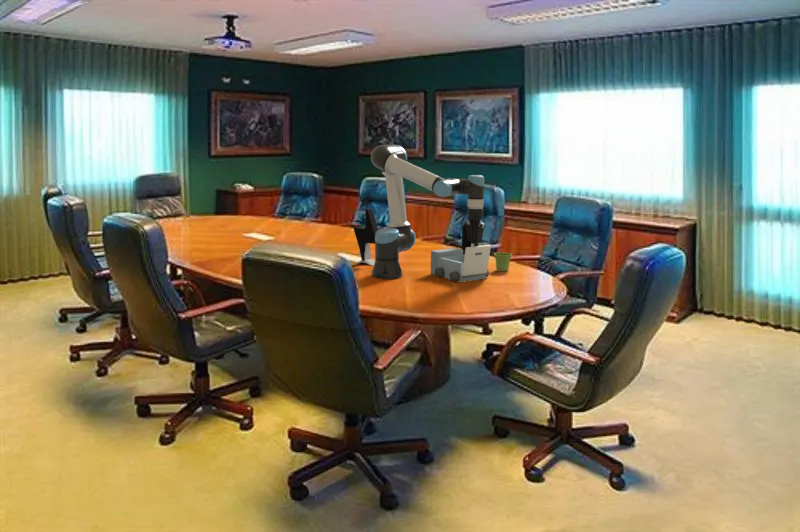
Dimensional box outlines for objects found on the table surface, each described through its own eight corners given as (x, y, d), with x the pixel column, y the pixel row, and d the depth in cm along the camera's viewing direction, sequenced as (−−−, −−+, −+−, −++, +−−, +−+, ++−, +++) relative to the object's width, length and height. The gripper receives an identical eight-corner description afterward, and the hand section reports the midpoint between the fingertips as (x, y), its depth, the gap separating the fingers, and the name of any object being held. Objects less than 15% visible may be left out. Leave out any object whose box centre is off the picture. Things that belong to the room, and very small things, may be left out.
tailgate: (463, 278, 337) (467, 248, 333) (461, 277, 338) (465, 247, 334) (487, 274, 346) (491, 245, 341) (485, 274, 347) (489, 244, 342)
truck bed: (456, 283, 338) (457, 258, 335) (426, 274, 357) (427, 251, 355) (489, 278, 349) (490, 254, 347) (458, 270, 368) (459, 247, 366)
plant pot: (515, 270, 370) (515, 254, 368) (504, 272, 363) (505, 256, 362) (500, 267, 376) (500, 251, 375) (489, 270, 369) (490, 254, 368)
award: (381, 264, 382) (381, 209, 376) (376, 266, 377) (376, 210, 372) (358, 261, 390) (358, 207, 384) (353, 263, 385) (353, 208, 380)
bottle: (467, 265, 382) (468, 213, 377) (480, 267, 377) (482, 215, 372) (457, 267, 376) (459, 215, 370) (471, 269, 370) (473, 216, 365)
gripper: (490, 208, 334) (488, 257, 338) (472, 206, 344) (471, 253, 349) (478, 209, 329) (476, 259, 334) (460, 207, 340) (459, 255, 344)
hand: (474, 256), depth 341 cm, fingers closed
